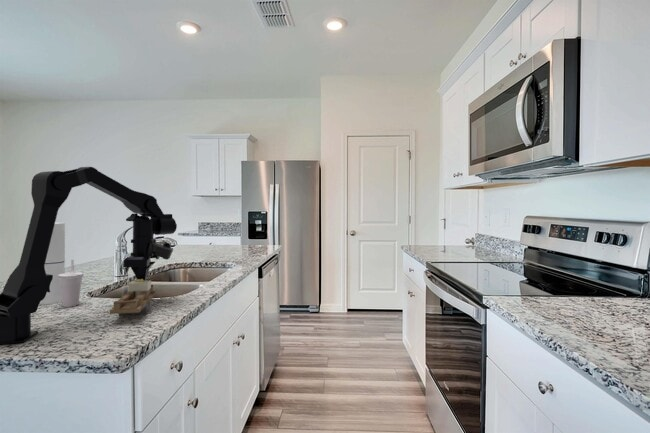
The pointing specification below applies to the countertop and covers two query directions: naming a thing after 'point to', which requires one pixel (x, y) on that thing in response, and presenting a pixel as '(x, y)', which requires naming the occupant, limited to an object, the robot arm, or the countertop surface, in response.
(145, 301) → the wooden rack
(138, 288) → the block
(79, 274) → the smoothie
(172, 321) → the countertop surface
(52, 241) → the cylindrical container
